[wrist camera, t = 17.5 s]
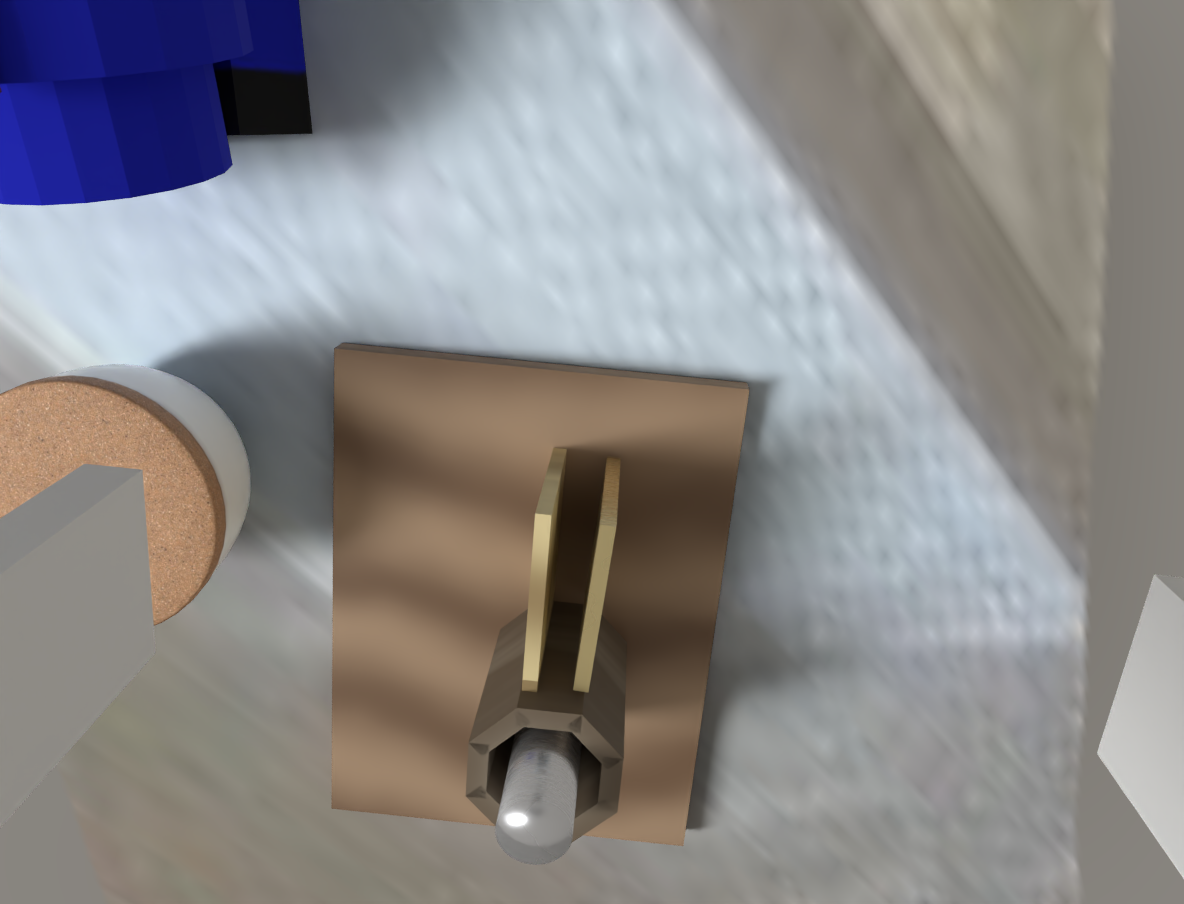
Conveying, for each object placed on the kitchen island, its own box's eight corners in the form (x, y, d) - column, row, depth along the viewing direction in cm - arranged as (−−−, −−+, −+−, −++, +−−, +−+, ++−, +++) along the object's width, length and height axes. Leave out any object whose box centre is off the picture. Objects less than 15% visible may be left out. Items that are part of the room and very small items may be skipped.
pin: (533, 631, 46) (497, 795, 35) (592, 638, 46) (576, 804, 35) (529, 682, 47) (493, 859, 36) (587, 689, 47) (569, 868, 36)
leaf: (607, 456, 43) (599, 524, 36) (620, 458, 43) (616, 527, 36) (584, 598, 45) (573, 690, 38) (597, 600, 45) (588, 692, 38)
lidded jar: (320, 523, 46) (244, 617, 37) (120, 581, 48) (1, 686, 39) (227, 308, 43) (119, 355, 34) (16, 378, 45) (-139, 440, 36)
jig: (342, 342, 43) (256, 404, 34) (746, 382, 43) (776, 456, 33) (338, 793, 51) (267, 948, 41) (682, 830, 51) (691, 995, 41)
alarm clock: (284, -145, 38) (68, -311, 23) (319, 185, 41) (150, 215, 27) (-22, -134, 38) (-415, -289, 24) (40, 190, 42) (-268, 222, 28)
